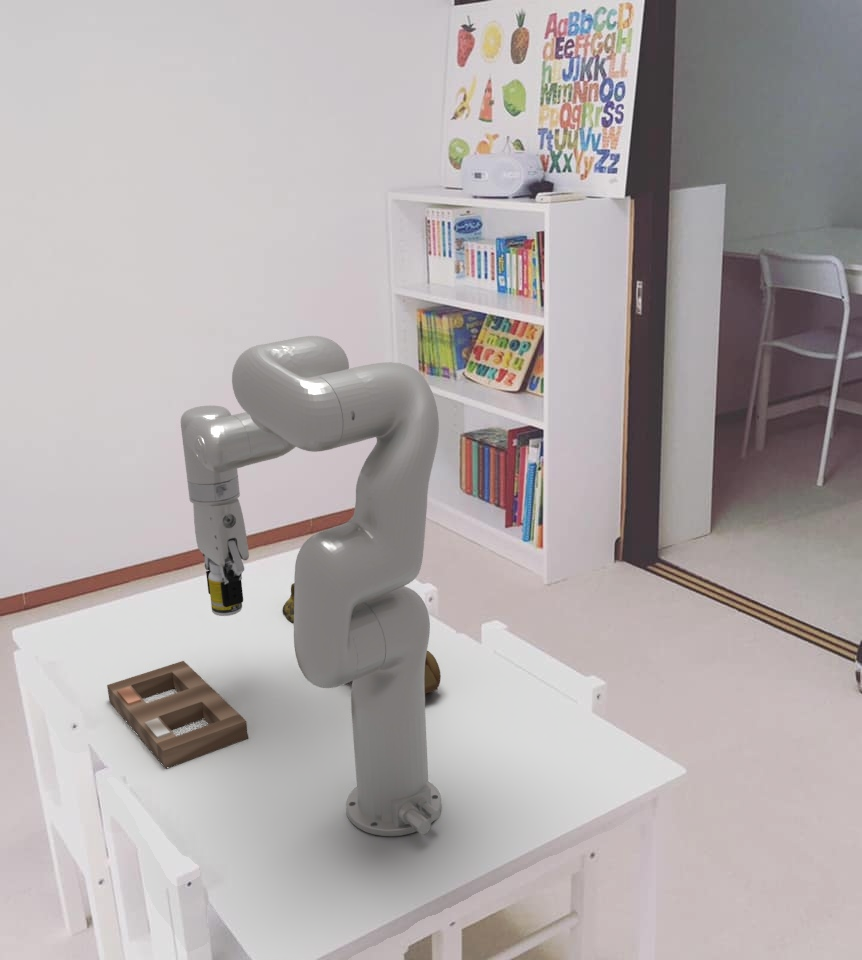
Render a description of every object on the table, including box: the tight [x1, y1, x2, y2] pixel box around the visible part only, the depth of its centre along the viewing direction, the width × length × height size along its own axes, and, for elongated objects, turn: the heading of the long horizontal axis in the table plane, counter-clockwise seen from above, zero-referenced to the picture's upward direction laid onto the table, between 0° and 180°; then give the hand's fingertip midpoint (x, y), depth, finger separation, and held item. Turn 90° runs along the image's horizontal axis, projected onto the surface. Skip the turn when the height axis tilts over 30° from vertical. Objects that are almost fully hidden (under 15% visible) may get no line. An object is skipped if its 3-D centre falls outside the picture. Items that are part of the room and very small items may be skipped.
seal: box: [282, 583, 294, 625], centre depth 202 cm, size 9×5×15 cm
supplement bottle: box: [208, 558, 243, 617], centre depth 168 cm, size 5×5×8 cm
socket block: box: [106, 660, 249, 769], centre depth 168 cm, size 24×13×3 cm, turn 35°
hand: (225, 597), depth 169 cm, fingers closed on supplement bottle, 4 cm apart
